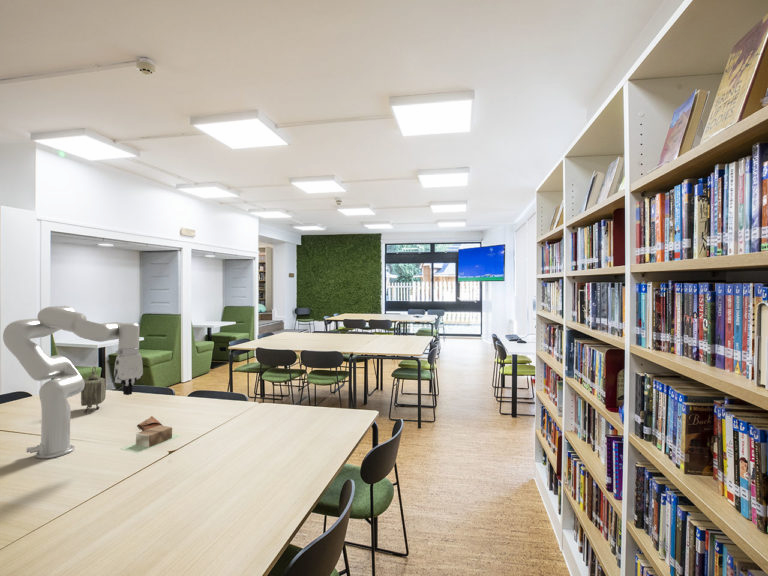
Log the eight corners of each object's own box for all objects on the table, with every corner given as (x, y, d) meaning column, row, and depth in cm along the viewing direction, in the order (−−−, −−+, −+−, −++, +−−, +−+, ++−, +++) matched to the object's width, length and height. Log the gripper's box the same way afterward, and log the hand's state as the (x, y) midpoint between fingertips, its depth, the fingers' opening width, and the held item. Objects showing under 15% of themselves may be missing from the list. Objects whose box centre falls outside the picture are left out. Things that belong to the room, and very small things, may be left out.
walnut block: (148, 435, 174) (172, 427, 185) (136, 433, 177) (160, 425, 188) (148, 447, 174) (171, 438, 185) (135, 444, 177) (159, 435, 188)
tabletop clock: (87, 407, 232) (88, 364, 233) (105, 405, 236) (106, 364, 236) (80, 414, 219) (81, 369, 219) (100, 412, 223) (101, 368, 223)
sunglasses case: (135, 425, 203) (143, 412, 205) (148, 429, 207) (155, 417, 209) (145, 434, 190) (153, 421, 192) (158, 438, 194) (166, 425, 197)
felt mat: (137, 453, 168) (137, 452, 168) (120, 449, 172) (120, 448, 172) (181, 436, 188) (181, 435, 188) (164, 433, 192) (164, 432, 192)
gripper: (117, 355, 161) (115, 399, 161) (150, 350, 175) (149, 391, 174) (105, 353, 164) (104, 397, 163) (139, 349, 177) (138, 389, 177)
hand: (127, 394), depth 169 cm, fingers closed
